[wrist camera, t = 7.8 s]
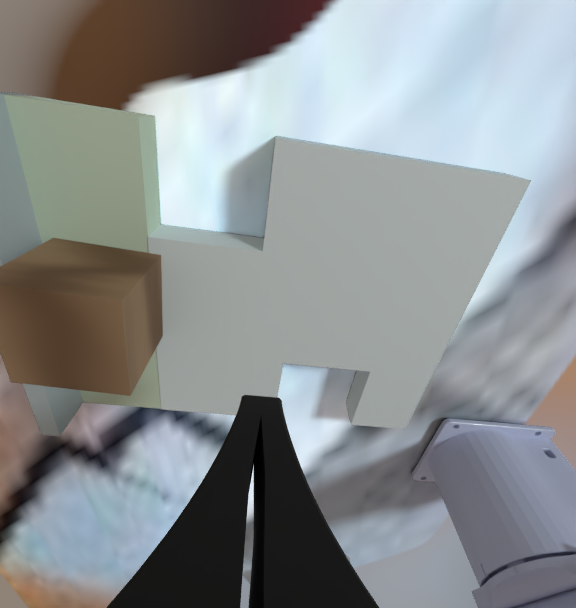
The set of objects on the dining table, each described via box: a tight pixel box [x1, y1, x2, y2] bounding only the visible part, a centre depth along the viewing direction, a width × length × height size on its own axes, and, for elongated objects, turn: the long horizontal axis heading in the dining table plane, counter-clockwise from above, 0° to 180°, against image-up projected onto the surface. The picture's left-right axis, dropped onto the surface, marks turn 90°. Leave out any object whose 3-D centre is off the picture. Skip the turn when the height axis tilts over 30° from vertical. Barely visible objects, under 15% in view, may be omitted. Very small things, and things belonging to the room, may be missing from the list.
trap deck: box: [0, 92, 531, 436], centre depth 17 cm, size 23×17×4 cm
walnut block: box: [0, 238, 163, 396], centre depth 15 cm, size 5×5×4 cm
